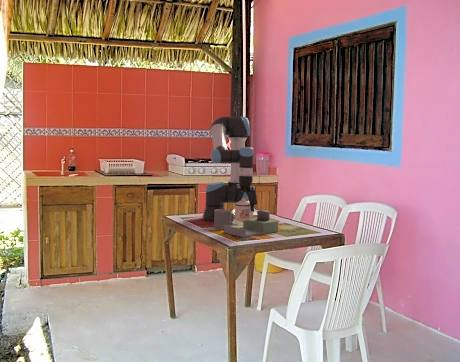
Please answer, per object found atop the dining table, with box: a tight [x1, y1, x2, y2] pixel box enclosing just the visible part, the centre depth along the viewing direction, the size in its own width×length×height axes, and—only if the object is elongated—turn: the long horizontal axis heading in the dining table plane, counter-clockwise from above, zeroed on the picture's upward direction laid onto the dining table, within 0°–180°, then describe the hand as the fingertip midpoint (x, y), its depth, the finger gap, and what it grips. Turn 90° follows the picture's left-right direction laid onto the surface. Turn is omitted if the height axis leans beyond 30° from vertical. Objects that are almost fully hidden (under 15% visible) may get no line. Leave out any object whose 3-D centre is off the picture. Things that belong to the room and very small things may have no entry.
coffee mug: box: [213, 208, 235, 230], centre depth 322 cm, size 13×10×10 cm
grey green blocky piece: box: [223, 209, 279, 238], centre depth 310 cm, size 16×27×11 cm, turn 133°
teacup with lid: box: [234, 199, 255, 222], centre depth 305 cm, size 12×9×12 cm
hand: (244, 215), depth 306 cm, fingers closed on teacup with lid, 9 cm apart
